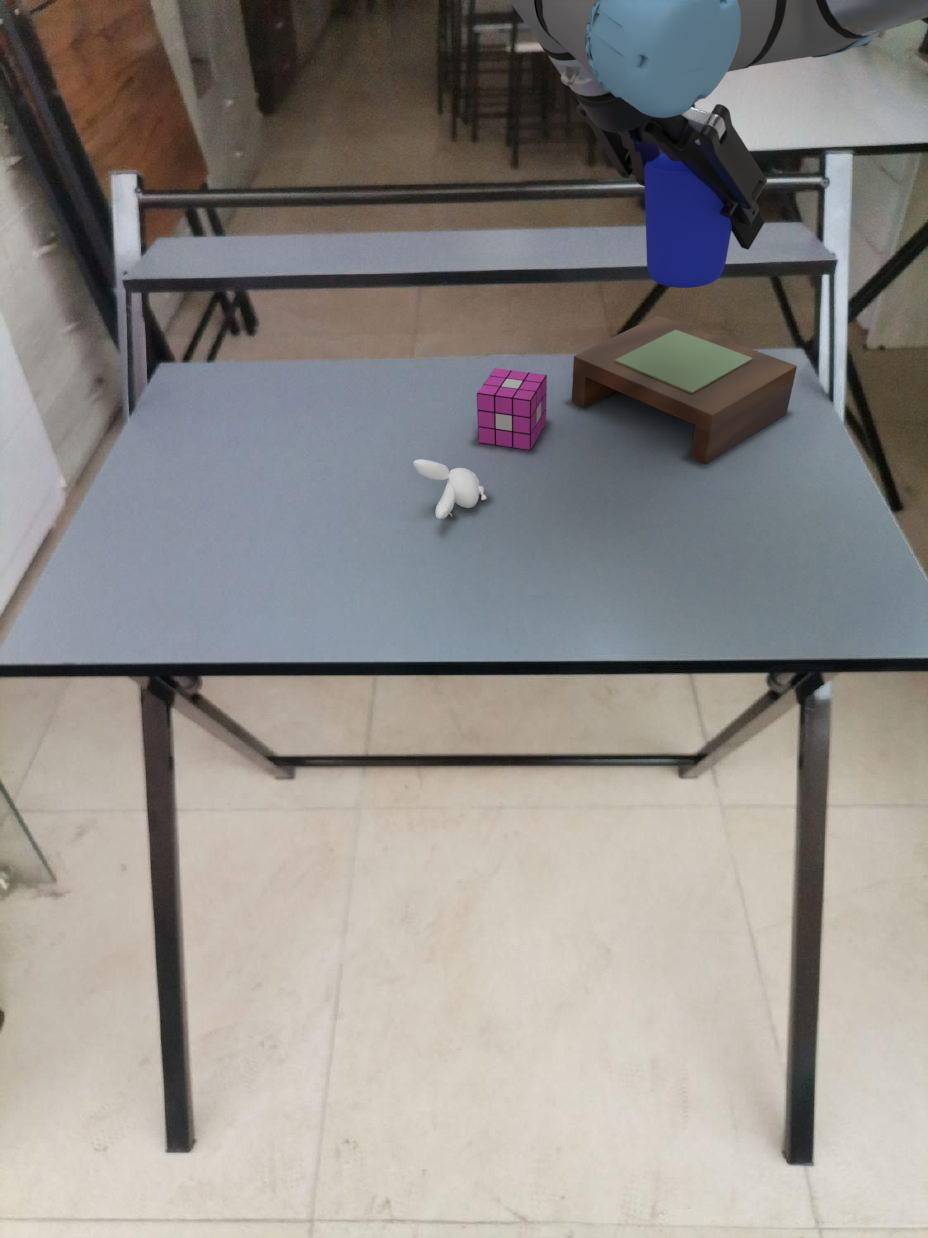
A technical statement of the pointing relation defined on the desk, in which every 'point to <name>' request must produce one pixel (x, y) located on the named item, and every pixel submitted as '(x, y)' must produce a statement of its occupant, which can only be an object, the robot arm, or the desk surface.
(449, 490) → the rabbit figurine
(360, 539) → the desk surface
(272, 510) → the desk surface
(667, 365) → the shelf
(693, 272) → the mug
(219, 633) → the desk surface
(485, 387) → the puzzle toy
